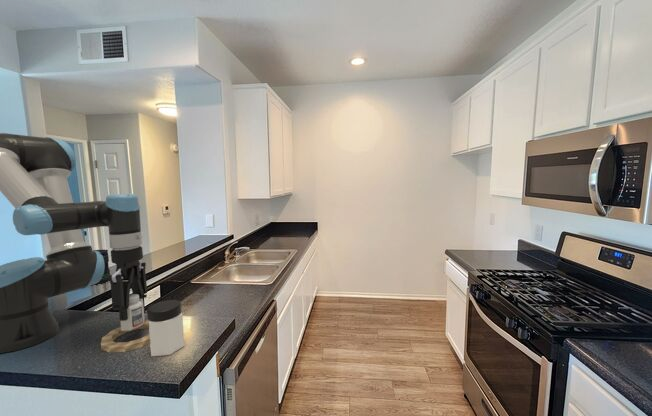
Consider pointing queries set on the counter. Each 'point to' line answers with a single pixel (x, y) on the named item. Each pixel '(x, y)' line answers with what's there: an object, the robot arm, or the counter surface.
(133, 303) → the pill bottle
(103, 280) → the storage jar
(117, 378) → the counter surface
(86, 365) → the counter surface
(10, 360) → the counter surface
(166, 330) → the jar
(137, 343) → the bead ring
